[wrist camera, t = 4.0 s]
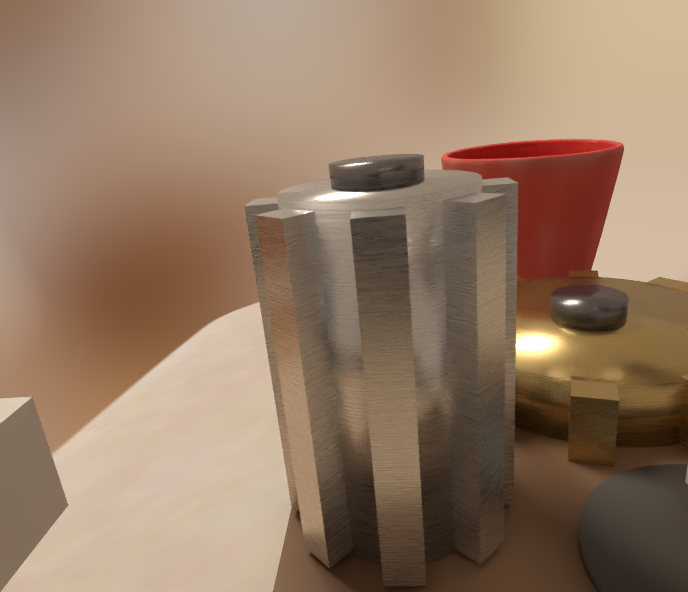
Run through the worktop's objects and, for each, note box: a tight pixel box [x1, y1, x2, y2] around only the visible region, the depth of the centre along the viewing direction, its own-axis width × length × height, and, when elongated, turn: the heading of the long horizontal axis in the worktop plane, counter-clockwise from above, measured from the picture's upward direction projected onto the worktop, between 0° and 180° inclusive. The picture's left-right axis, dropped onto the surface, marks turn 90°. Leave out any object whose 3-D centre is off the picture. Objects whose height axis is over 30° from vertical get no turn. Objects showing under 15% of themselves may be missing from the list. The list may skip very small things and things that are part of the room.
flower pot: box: [441, 139, 624, 280], centre depth 35 cm, size 11×11×10 cm
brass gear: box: [515, 270, 688, 467], centre depth 23 cm, size 14×14×4 cm
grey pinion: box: [245, 154, 518, 587], centre depth 15 cm, size 7×7×11 cm
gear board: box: [273, 426, 688, 592], centre depth 20 cm, size 19×22×1 cm
